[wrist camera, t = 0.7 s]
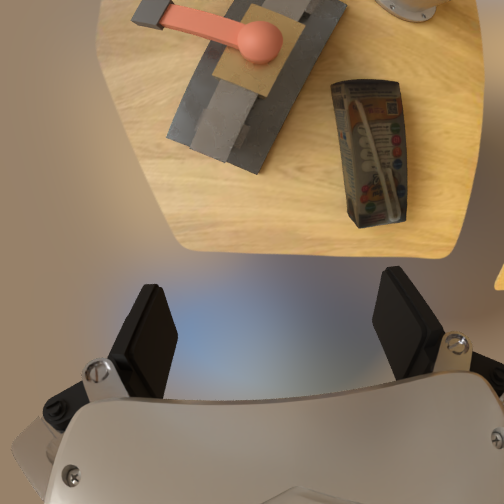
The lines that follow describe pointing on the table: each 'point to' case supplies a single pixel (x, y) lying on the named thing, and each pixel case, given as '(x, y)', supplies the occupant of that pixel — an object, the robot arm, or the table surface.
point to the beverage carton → (372, 150)
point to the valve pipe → (252, 83)
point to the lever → (213, 28)
